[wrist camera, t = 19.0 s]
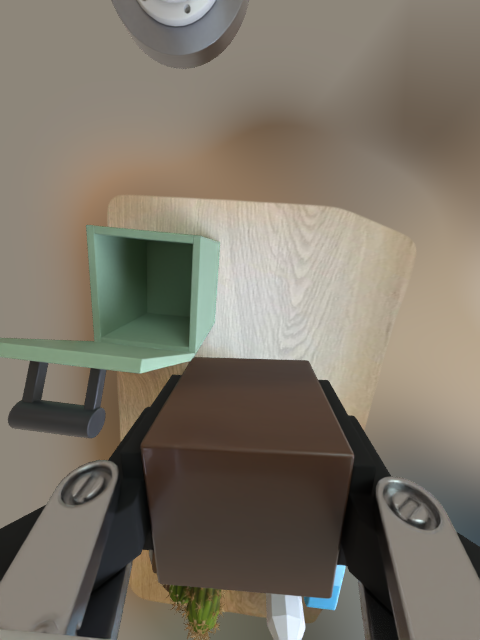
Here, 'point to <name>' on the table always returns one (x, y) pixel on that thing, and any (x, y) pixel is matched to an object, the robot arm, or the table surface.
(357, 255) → the table surface
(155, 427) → the block
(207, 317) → the box
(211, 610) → the flowerpot
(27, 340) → the green box lid
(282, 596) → the low poly bottle
